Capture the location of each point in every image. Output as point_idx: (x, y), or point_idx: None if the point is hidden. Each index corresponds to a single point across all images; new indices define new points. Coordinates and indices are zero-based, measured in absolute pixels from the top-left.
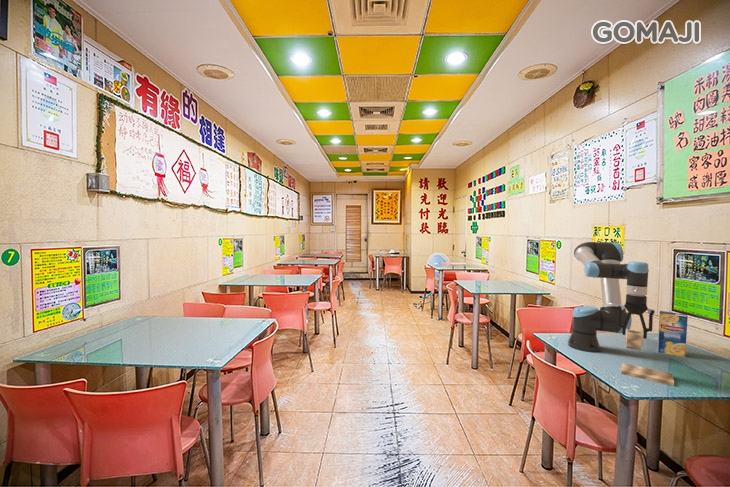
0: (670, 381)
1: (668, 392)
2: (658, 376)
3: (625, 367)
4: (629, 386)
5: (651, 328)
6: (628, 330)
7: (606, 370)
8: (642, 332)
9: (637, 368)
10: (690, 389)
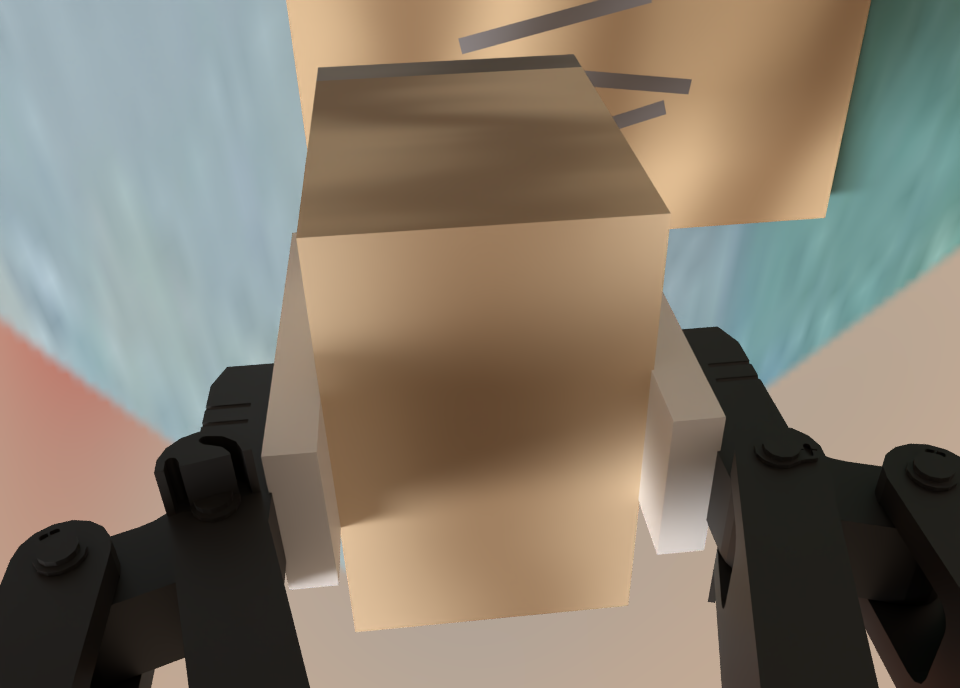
0: (795, 212)
1: None
2: (701, 136)
3: None
4: None
5: (938, 644)
6: (331, 354)
7: (171, 254)
8: (674, 535)
9: (483, 2)
10: (943, 173)
